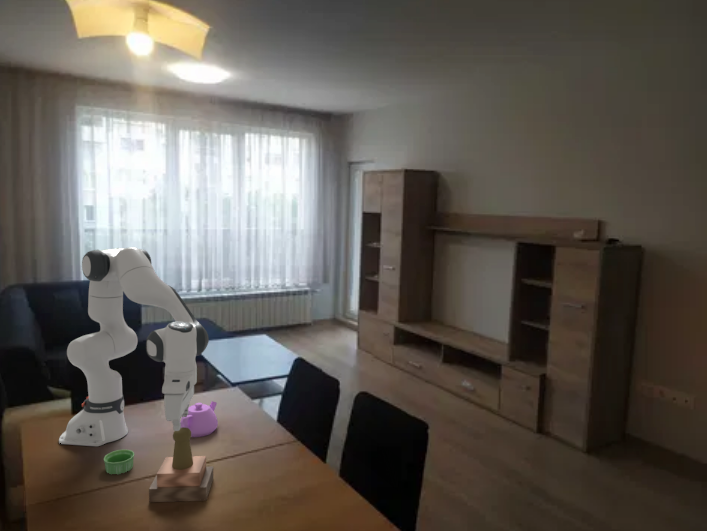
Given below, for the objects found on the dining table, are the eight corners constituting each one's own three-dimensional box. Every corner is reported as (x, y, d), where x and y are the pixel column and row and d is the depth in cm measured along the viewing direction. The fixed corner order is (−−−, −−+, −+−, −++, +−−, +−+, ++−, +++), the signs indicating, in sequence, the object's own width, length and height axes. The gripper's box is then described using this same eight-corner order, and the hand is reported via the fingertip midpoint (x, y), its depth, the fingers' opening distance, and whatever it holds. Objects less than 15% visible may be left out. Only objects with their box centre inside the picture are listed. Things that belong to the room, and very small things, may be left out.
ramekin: (104, 464, 167) (104, 452, 166) (134, 459, 170) (134, 447, 170) (103, 478, 159) (102, 464, 158) (134, 472, 162) (134, 459, 162)
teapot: (230, 422, 201) (230, 396, 200) (200, 444, 183) (199, 415, 181) (200, 417, 206) (200, 391, 204) (167, 437, 187) (167, 409, 186)
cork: (186, 470, 149) (186, 434, 147) (167, 468, 150) (167, 432, 148) (196, 460, 154) (196, 426, 153) (178, 458, 156) (178, 424, 154)
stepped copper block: (149, 502, 146) (148, 475, 145) (160, 480, 158) (160, 455, 157) (206, 500, 148) (206, 474, 147) (213, 478, 160) (213, 454, 159)
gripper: (178, 366, 159) (178, 408, 161) (160, 390, 139) (160, 438, 140) (199, 366, 159) (199, 408, 161) (184, 390, 139) (184, 438, 141)
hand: (181, 422), depth 151 cm, fingers open, 8 cm apart
